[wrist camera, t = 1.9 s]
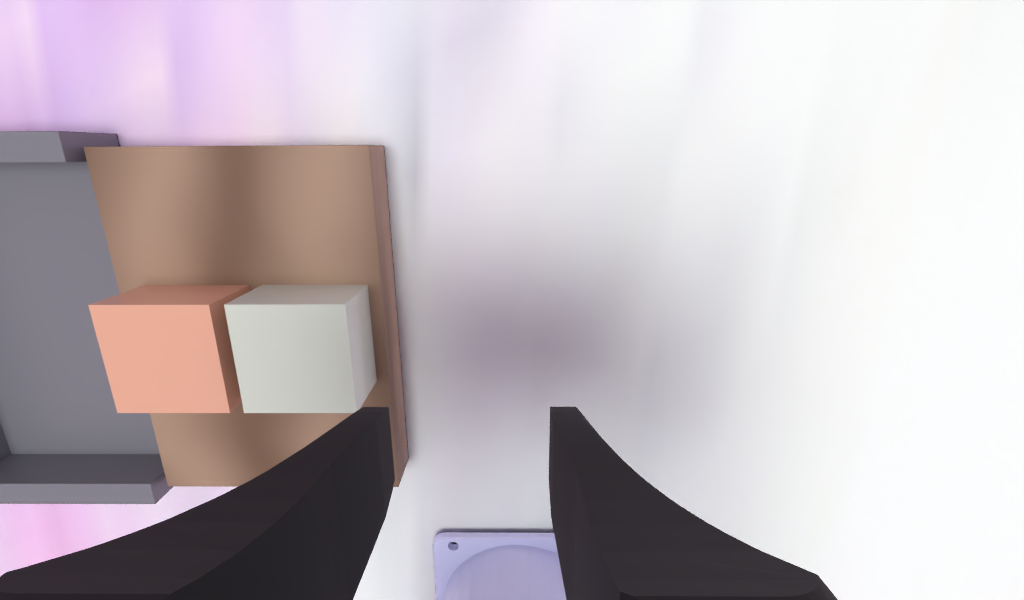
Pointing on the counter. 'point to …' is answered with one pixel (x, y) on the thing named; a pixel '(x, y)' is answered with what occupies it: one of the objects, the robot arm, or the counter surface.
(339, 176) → the walnut board
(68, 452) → the tray
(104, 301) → the terracotta tile
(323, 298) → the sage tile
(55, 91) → the counter surface
